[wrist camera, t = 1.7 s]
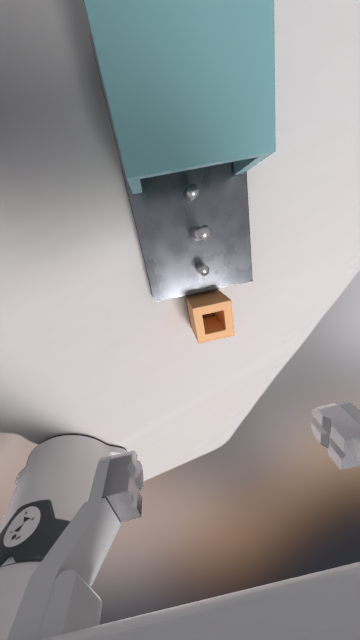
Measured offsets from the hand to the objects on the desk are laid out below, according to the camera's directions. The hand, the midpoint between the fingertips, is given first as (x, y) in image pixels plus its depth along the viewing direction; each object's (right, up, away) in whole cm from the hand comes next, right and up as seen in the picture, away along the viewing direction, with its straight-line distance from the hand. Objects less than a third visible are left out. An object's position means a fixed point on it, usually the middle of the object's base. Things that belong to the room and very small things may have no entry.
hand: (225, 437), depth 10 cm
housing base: (-1, +20, +15) cm, 25 cm away
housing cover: (-2, +25, +11) cm, 27 cm away
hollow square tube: (+1, +7, +20) cm, 21 cm away
